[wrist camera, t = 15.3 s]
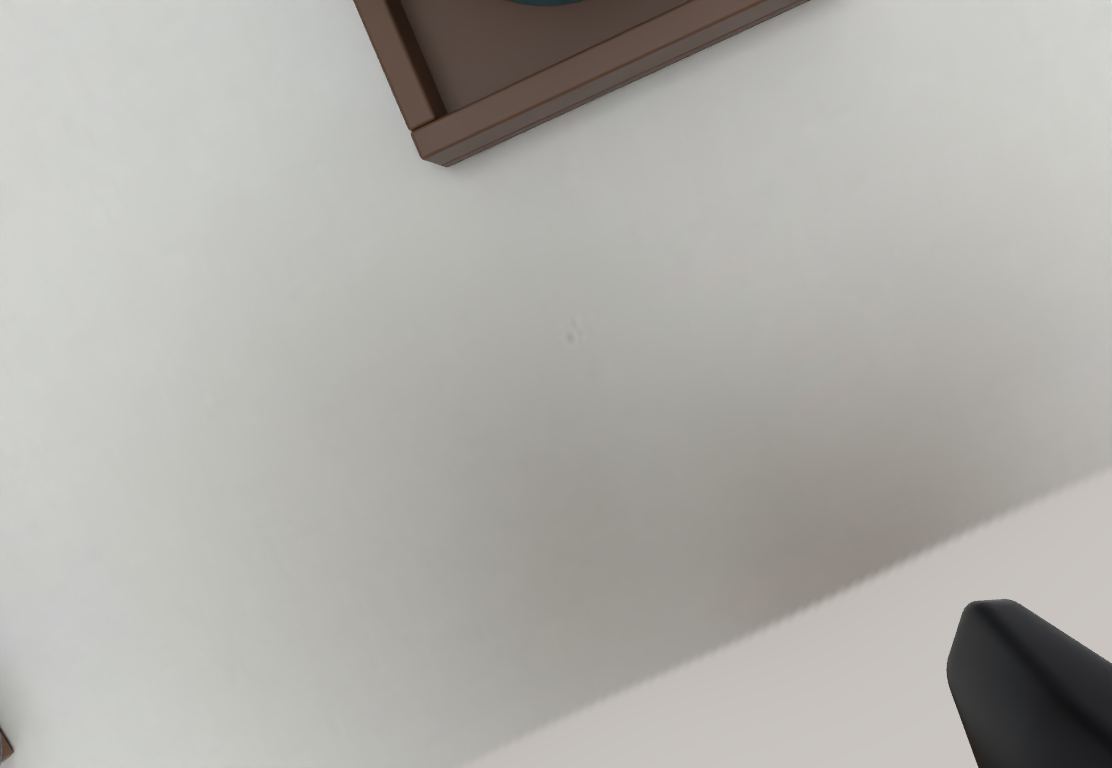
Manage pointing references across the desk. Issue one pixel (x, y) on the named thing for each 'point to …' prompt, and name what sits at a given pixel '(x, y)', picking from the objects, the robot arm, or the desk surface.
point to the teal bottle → (545, 2)
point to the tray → (530, 58)
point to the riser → (5, 749)
